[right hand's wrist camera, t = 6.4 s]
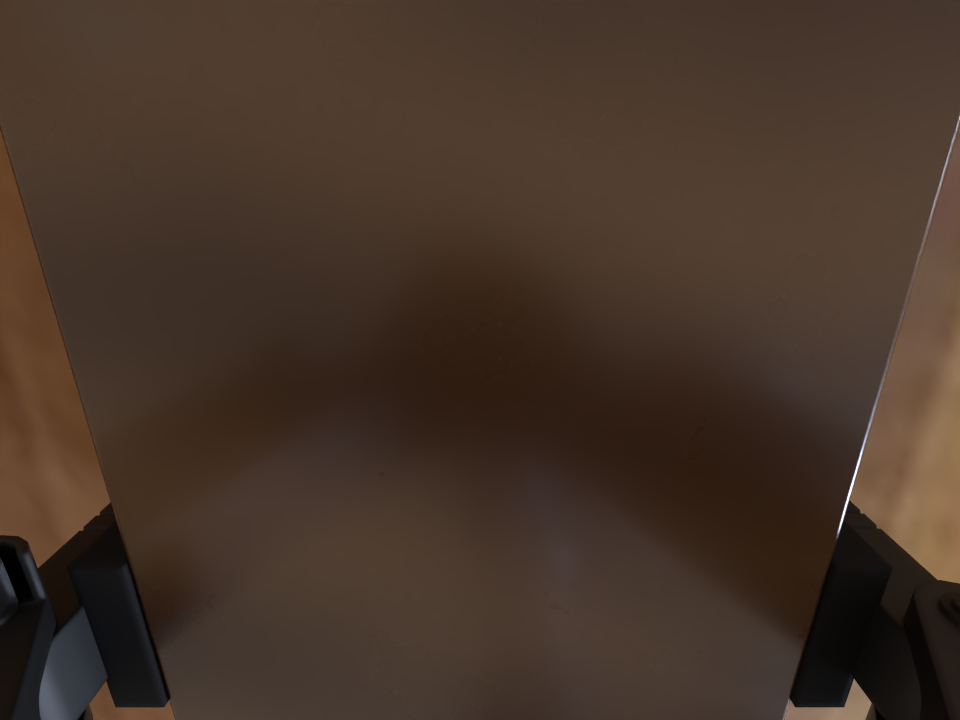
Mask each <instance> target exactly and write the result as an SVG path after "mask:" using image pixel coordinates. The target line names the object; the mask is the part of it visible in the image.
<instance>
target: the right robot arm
mask: <svg viewBox="0 0 960 720" xmlns="http://www.w3.org/2000/svg"><path fill="white" fill-rule="evenodd" d="M854 679H855V680H856V682H857V683H858V684H859V686H860V687H861V689H862V690H863V691H864V693H865V694H866V695H867V697H868V698H869V699H870V701H871V702H872V704H871V706H870V709H869V712H868V714H867V717H866V720H960V584H958V583H953V582H948V581H942V580H937V579H936V578H935V577H933V576H932V575H931V574H930V573H929V572H928V571H927V570H926V569H925V568H923V567H922V566H921V565H920V564H919V563H918V562H917V561H916V560H915V559H914V558H912V557H911V556H910V555H909V554H908V553H907V552H906V551H905V550H904V549H902V548H901V547H900V546H899V545H898V544H897V543H896V542H895V541H894V540H893V539H891V538H890V537H889V536H888V535H887V534H886V533H885V532H884V531H883V530H881V529H877V527H876V524H875V523H874V522H873V521H871V520H870V519H869V518H868V517H867V516H866V515H865V514H861V513H860V510H859V509H858V508H857V507H856V506H855V505H854V504H853V503H852V502H850V501H849V502H848V506H847V509H846V513H845V516H844V519H843V523H842V526H841V530H840V533H839V536H838V540H837V543H836V546H835V550H834V553H833V557H832V560H831V563H830V567H829V570H828V573H827V577H826V580H825V584H824V587H823V590H822V594H821V597H820V600H819V604H818V607H817V611H816V614H815V617H814V621H813V624H812V628H811V631H810V634H809V638H808V641H807V644H806V648H805V651H804V655H803V658H802V661H801V665H800V668H799V671H798V675H797V678H796V682H795V685H794V688H793V692H792V695H791V701H792V703H793V704H794V706H795V707H844V706H845V703H846V700H847V697H848V694H849V691H850V689H851V686H852V683H853V680H854ZM105 681H107V684H108V687H109V690H110V693H111V696H112V698H113V701H114V704H115V707H165V705H166V704H167V702H168V700H169V697H168V693H167V690H166V686H165V683H164V680H163V676H162V673H161V670H160V666H159V663H158V659H157V656H156V653H155V649H154V646H153V643H152V639H151V636H150V632H149V629H148V626H147V622H146V619H145V616H144V612H143V609H142V605H141V602H140V599H139V595H138V592H137V589H136V585H135V582H134V578H133V575H132V572H131V568H130V565H129V562H128V558H127V555H126V551H125V548H124V545H123V541H122V538H121V534H120V531H119V528H118V524H117V521H116V518H115V514H114V511H113V507H112V504H111V503H110V504H108V505H107V506H106V507H105V508H104V509H103V510H102V511H101V512H100V515H99V516H95V517H94V518H93V519H92V520H91V521H90V522H89V523H88V524H87V525H85V526H84V530H83V531H79V532H78V533H77V534H76V535H74V536H73V537H72V538H71V539H70V540H69V541H68V542H67V543H66V544H65V545H63V546H62V547H61V548H60V549H59V550H58V551H57V552H56V553H55V554H54V555H52V556H51V557H50V558H49V559H48V560H47V561H46V562H45V563H44V564H43V565H41V566H40V567H39V568H37V565H36V563H35V560H34V557H33V555H32V552H31V549H30V547H29V544H28V542H27V541H25V540H24V539H22V538H20V537H19V536H4V535H1V536H0V720H93V715H92V712H91V709H90V706H89V703H90V702H91V701H92V699H93V698H94V696H95V695H96V694H97V692H98V691H99V690H100V688H101V687H102V685H103V684H104V683H105Z"/></svg>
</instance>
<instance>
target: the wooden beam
mask: <svg viewBox="0 0 960 720" xmlns="http://www.w3.org/2000/svg"><path fill="white" fill-rule="evenodd" d="M959 127H960V0H0V129H1V132H2V136H3V139H4V143H5V146H6V149H7V153H8V156H9V160H10V163H11V166H12V170H13V173H14V176H15V180H16V183H17V187H18V190H19V193H20V197H21V200H22V203H23V207H24V210H25V214H26V217H27V220H28V224H29V227H30V230H31V234H32V237H33V241H34V244H35V247H36V251H37V254H38V257H39V261H40V264H41V268H42V271H43V274H44V278H45V281H46V284H47V288H48V291H49V295H50V298H51V301H52V305H53V308H54V312H55V315H56V318H57V322H58V325H59V328H60V332H61V335H62V339H63V342H64V345H65V349H66V352H67V355H68V359H69V362H70V366H71V369H72V372H73V376H74V379H75V382H76V386H77V389H78V393H79V396H80V399H81V403H82V406H83V409H84V413H85V416H86V420H87V423H88V426H89V430H90V433H91V437H92V440H93V443H94V447H95V450H96V453H97V457H98V460H99V464H100V467H101V470H102V474H103V477H104V480H105V484H106V487H107V491H108V494H109V497H110V501H111V504H112V507H113V511H114V514H115V518H116V521H117V524H118V528H119V531H120V534H121V538H122V541H123V545H124V548H125V551H126V555H127V558H128V562H129V565H130V568H131V572H132V575H133V578H134V582H135V585H136V589H137V592H138V595H139V599H140V602H141V605H142V609H143V612H144V616H145V619H146V622H147V626H148V629H149V632H150V636H151V639H152V643H153V646H154V649H155V653H156V656H157V659H158V663H159V666H160V670H161V673H162V676H163V680H164V683H165V686H166V690H167V693H168V697H169V700H170V703H171V707H172V710H173V714H174V717H175V720H784V719H785V715H786V712H787V709H788V705H789V702H790V699H791V695H792V692H793V688H794V685H795V682H796V678H797V675H798V671H799V668H800V665H801V661H802V658H803V655H804V651H805V648H806V644H807V641H808V638H809V634H810V631H811V628H812V624H813V621H814V617H815V614H816V611H817V607H818V604H819V600H820V597H821V594H822V590H823V587H824V584H825V580H826V577H827V573H828V570H829V567H830V563H831V560H832V557H833V553H834V550H835V546H836V543H837V540H838V536H839V533H840V530H841V526H842V523H843V519H844V516H845V513H846V509H847V506H848V502H849V499H850V496H851V492H852V489H853V486H854V482H855V479H856V475H857V472H858V469H859V465H860V462H861V459H862V455H863V452H864V448H865V445H866V442H867V438H868V435H869V431H870V428H871V425H872V421H873V418H874V415H875V411H876V408H877V404H878V401H879V398H880V394H881V391H882V388H883V384H884V381H885V377H886V374H887V371H888V367H889V364H890V361H891V357H892V354H893V350H894V347H895V344H896V340H897V337H898V333H899V330H900V327H901V323H902V320H903V317H904V313H905V310H906V306H907V303H908V300H909V296H910V293H911V290H912V286H913V283H914V279H915V276H916V273H917V269H918V266H919V262H920V259H921V256H922V252H923V249H924V246H925V242H926V239H927V235H928V232H929V229H930V225H931V222H932V219H933V215H934V212H935V208H936V205H937V202H938V198H939V195H940V192H941V188H942V185H943V181H944V178H945V175H946V171H947V168H948V164H949V161H950V158H951V154H952V151H953V148H954V144H955V141H956V137H957V134H958V131H959Z"/></svg>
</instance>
